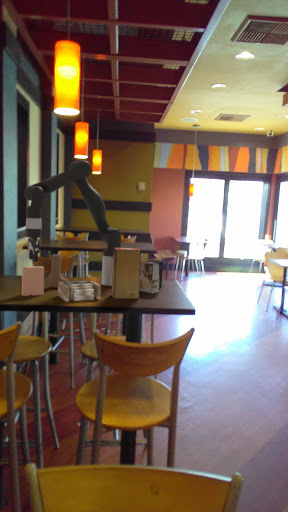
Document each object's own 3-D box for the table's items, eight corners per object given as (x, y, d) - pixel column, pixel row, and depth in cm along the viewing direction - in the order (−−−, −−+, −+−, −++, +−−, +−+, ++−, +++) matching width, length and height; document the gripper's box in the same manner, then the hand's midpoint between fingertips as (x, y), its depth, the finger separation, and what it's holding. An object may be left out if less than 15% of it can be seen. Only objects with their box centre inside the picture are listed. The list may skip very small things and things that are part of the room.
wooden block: (68, 287, 219) (69, 255, 217) (66, 288, 215) (67, 256, 212) (53, 285, 220) (54, 253, 218) (50, 287, 216) (51, 254, 214)
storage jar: (162, 287, 231) (163, 262, 230) (145, 286, 231) (146, 261, 230) (161, 284, 241) (163, 260, 239) (145, 283, 241) (147, 259, 240)
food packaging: (135, 294, 209) (138, 248, 206) (139, 299, 200) (142, 250, 197) (110, 294, 206) (113, 247, 203) (113, 299, 197) (115, 249, 194)
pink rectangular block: (41, 293, 200) (42, 266, 199) (43, 294, 198) (44, 267, 196) (21, 294, 196) (22, 266, 194) (23, 296, 193) (23, 267, 191)
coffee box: (159, 292, 218) (161, 263, 216) (151, 293, 213) (153, 264, 212) (147, 289, 224) (148, 261, 222) (139, 290, 220) (140, 262, 218)
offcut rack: (90, 293, 206) (91, 280, 205) (100, 299, 194) (101, 285, 194) (57, 295, 197) (58, 281, 197) (66, 301, 186) (66, 287, 185)
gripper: (45, 228, 188) (44, 262, 190) (37, 226, 200) (37, 258, 203) (29, 228, 185) (29, 262, 187) (22, 226, 197) (22, 258, 199)
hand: (33, 260), depth 195 cm, fingers open, 8 cm apart
